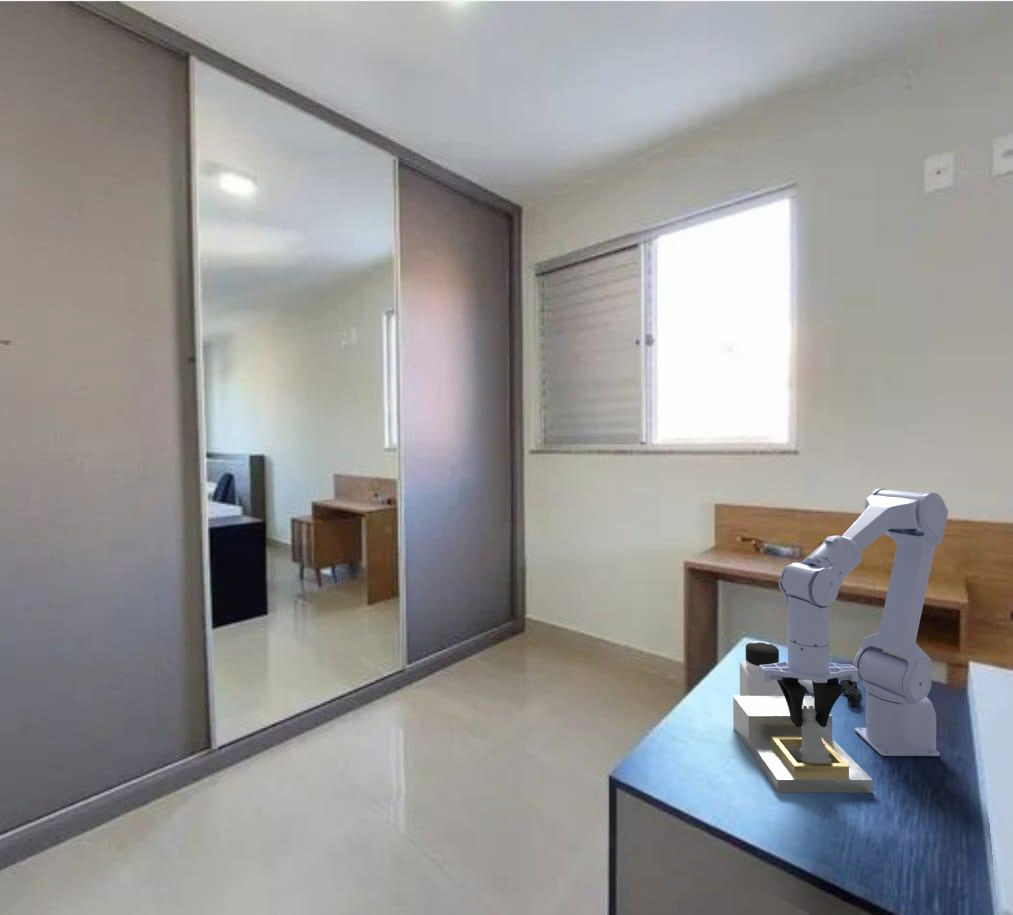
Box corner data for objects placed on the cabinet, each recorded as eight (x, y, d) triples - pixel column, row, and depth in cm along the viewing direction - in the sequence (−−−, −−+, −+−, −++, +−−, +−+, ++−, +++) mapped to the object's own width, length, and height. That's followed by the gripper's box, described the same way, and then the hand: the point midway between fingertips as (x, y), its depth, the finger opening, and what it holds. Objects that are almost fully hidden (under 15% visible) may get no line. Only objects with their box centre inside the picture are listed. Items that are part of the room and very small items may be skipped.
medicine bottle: (787, 714, 104) (786, 653, 104) (747, 711, 106) (747, 650, 105) (776, 696, 111) (776, 639, 111) (739, 693, 113) (739, 637, 112)
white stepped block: (810, 727, 99) (810, 695, 99) (872, 792, 81) (873, 754, 81) (733, 727, 100) (733, 696, 100) (777, 792, 82) (777, 753, 82)
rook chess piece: (830, 764, 81) (817, 705, 84) (798, 762, 83) (786, 705, 87) (835, 762, 84) (822, 705, 88) (803, 760, 87) (792, 705, 90)
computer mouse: (767, 671, 124) (767, 654, 123) (862, 691, 113) (862, 672, 113) (759, 688, 116) (758, 670, 115) (860, 712, 105) (860, 692, 105)
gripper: (772, 650, 82) (773, 737, 83) (871, 649, 81) (870, 737, 82) (753, 633, 89) (754, 713, 90) (843, 632, 88) (843, 713, 89)
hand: (808, 723), depth 86 cm, fingers closed on rook chess piece, 3 cm apart
